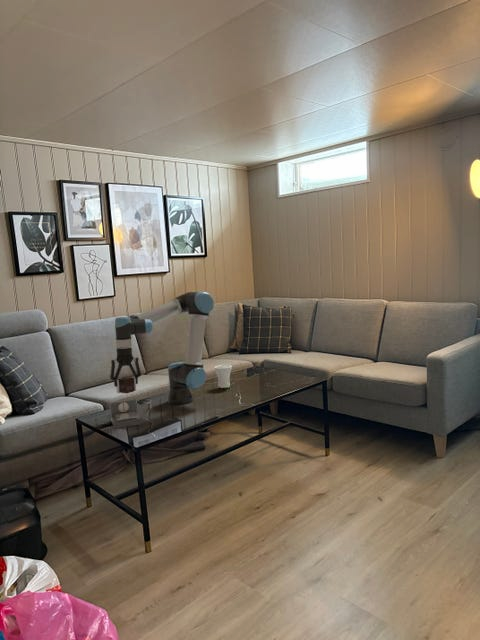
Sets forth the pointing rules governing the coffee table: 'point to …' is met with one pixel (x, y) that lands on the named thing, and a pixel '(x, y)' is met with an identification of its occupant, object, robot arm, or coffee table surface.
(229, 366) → the cup
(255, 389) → the coffee table surface
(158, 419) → the coffee table surface
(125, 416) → the pan
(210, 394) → the coffee table surface
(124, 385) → the box
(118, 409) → the scale
